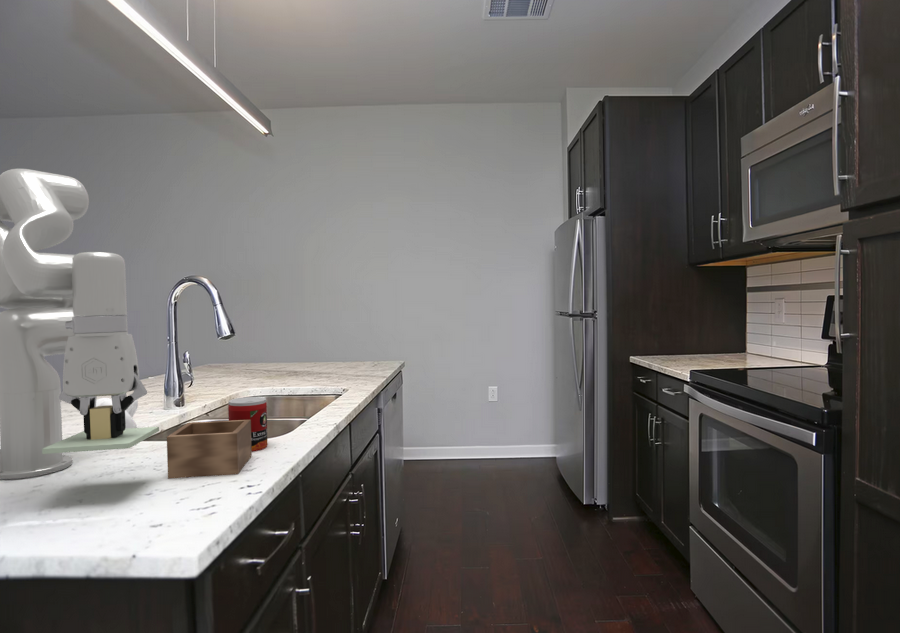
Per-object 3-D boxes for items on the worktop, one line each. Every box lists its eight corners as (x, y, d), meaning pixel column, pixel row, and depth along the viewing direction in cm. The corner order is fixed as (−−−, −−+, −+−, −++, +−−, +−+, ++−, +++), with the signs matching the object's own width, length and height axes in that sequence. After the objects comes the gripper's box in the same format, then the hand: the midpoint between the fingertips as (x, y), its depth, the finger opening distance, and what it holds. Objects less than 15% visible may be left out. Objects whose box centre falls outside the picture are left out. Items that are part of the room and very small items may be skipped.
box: (167, 481, 96) (166, 436, 96) (189, 462, 108) (188, 422, 108) (238, 476, 98) (236, 433, 98) (251, 458, 110) (250, 419, 110)
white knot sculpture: (110, 428, 141) (109, 394, 141) (154, 428, 140) (153, 394, 140) (77, 438, 130) (76, 401, 129) (124, 439, 129) (123, 401, 128)
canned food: (255, 455, 112) (254, 403, 112) (221, 454, 114) (220, 402, 113) (274, 446, 120) (273, 397, 119) (242, 444, 121) (241, 396, 121)
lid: (42, 453, 83) (40, 416, 82) (84, 435, 95) (82, 402, 95) (129, 448, 85) (127, 411, 84) (159, 431, 97) (157, 399, 97)
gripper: (33, 329, 84) (37, 445, 85) (144, 326, 87) (149, 438, 87) (59, 327, 92) (64, 434, 92) (162, 324, 94) (165, 428, 95)
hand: (105, 435), depth 90 cm, fingers closed on lid, 3 cm apart
